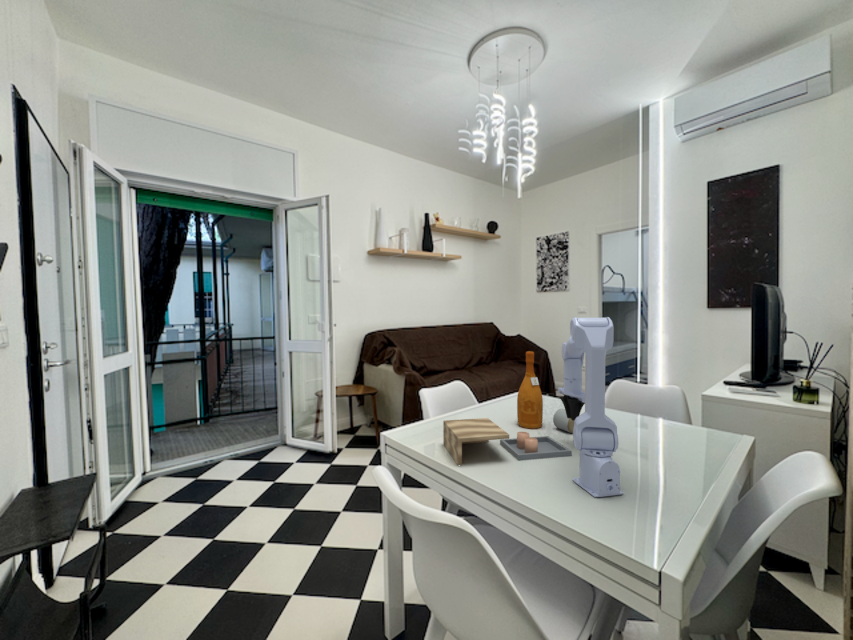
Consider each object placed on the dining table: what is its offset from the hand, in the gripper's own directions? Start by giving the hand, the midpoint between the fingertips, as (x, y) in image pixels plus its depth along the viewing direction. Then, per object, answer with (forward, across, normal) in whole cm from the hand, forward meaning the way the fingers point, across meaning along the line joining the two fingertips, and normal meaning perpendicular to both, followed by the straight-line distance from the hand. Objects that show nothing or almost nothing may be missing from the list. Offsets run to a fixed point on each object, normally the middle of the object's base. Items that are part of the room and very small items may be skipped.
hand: (572, 419), depth 120 cm
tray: (+10, 0, +14) cm, 17 cm away
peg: (+9, +3, +17) cm, 19 cm away
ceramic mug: (+10, +16, -10) cm, 21 cm away
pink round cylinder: (+9, -3, +17) cm, 19 cm away
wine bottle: (+10, +24, +3) cm, 26 cm away
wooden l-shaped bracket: (+9, +2, +34) cm, 35 cm away
